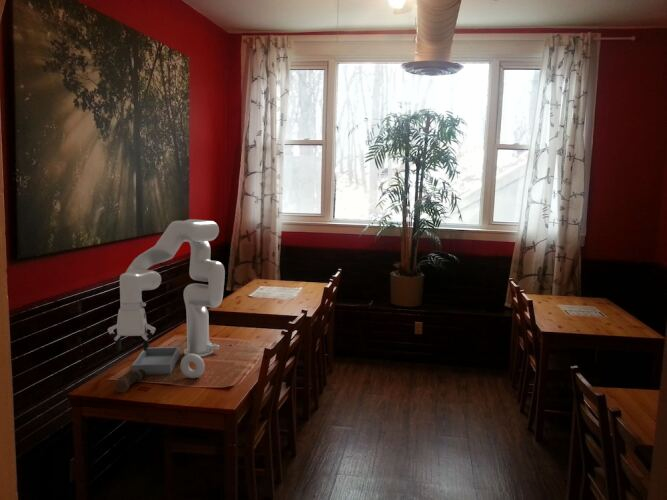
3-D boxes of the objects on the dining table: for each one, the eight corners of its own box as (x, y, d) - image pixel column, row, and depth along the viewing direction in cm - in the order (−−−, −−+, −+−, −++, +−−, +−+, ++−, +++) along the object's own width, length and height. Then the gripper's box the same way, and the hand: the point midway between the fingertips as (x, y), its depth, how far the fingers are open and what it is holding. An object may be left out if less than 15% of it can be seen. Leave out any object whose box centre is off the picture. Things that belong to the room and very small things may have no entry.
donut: (206, 377, 213) (205, 353, 212) (202, 380, 210) (202, 356, 208) (182, 375, 215) (182, 351, 213) (179, 378, 212) (178, 354, 210)
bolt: (144, 381, 213) (122, 396, 198) (134, 374, 213) (111, 388, 199) (150, 370, 212) (129, 383, 197) (140, 363, 212) (118, 376, 198)
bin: (180, 355, 237) (179, 347, 236) (170, 374, 216) (170, 364, 215) (145, 356, 235) (144, 347, 234) (132, 374, 214) (131, 365, 214)
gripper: (157, 303, 205) (158, 346, 207) (110, 303, 203) (111, 346, 206) (152, 308, 198) (153, 352, 200) (104, 308, 196) (105, 353, 198)
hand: (132, 349), depth 203 cm, fingers open, 9 cm apart
